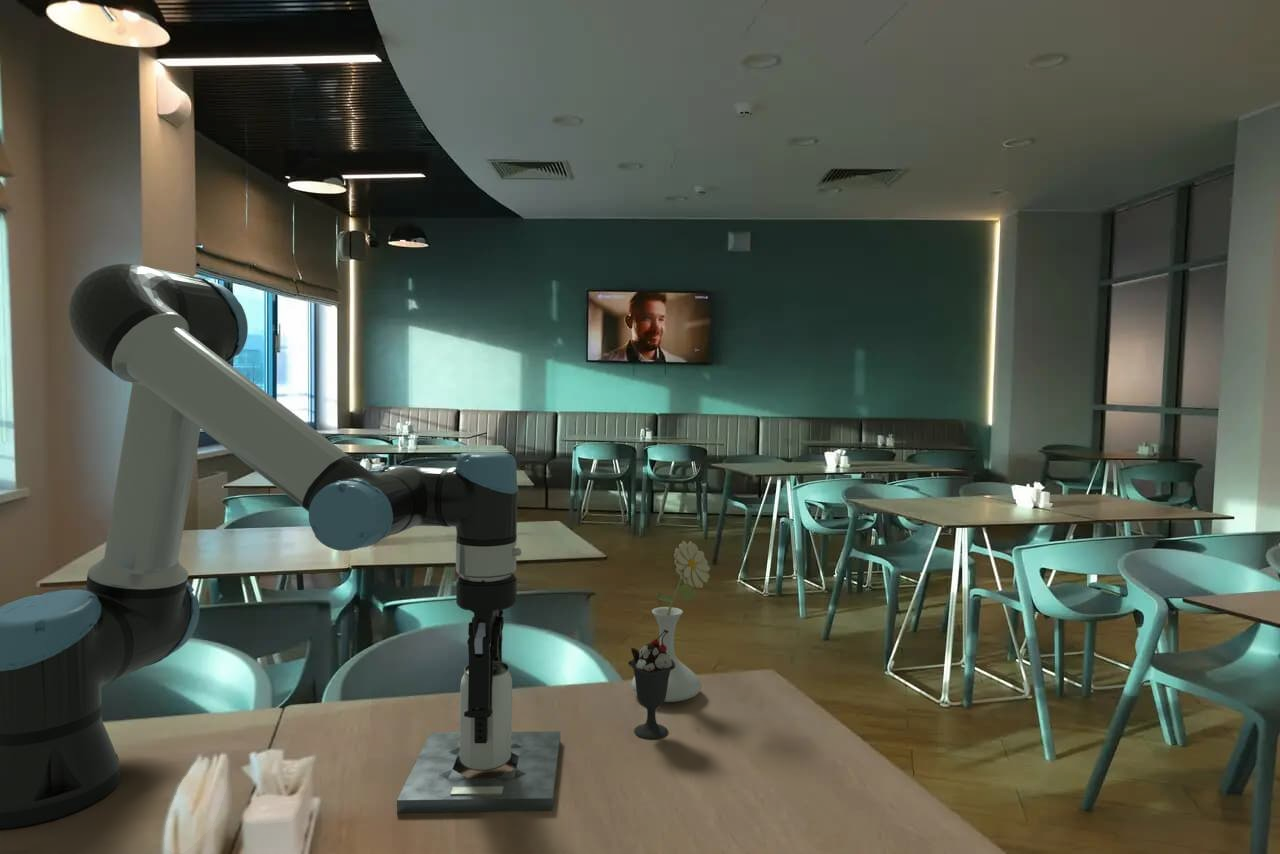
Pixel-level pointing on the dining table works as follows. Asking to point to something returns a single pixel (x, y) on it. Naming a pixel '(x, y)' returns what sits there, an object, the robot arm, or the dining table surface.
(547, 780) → the socket plate
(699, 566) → the flower in vase
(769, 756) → the dining table surface
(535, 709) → the dining table surface
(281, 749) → the dining table surface
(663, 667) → the sundae
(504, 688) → the can
